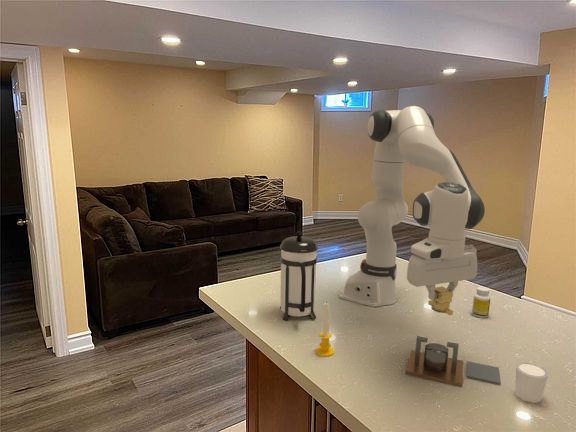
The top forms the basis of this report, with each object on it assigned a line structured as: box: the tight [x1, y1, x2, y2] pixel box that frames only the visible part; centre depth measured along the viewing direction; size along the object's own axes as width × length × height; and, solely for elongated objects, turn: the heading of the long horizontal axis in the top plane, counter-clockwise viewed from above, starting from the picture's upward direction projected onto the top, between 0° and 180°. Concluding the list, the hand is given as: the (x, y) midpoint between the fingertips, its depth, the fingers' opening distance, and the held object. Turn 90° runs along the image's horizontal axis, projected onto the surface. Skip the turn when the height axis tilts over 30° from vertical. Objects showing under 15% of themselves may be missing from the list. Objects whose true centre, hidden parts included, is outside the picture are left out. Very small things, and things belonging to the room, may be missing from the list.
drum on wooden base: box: [405, 335, 464, 388], centre depth 114 cm, size 14×12×8 cm
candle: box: [315, 301, 335, 358], centre depth 121 cm, size 5×5×16 cm
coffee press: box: [279, 230, 319, 322], centre depth 144 cm, size 17×16×30 cm
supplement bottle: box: [471, 286, 491, 319], centre depth 149 cm, size 5×5×10 cm
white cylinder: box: [515, 362, 549, 404], centre depth 103 cm, size 7×7×7 cm
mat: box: [466, 360, 501, 386], centre depth 113 cm, size 8×8×1 cm
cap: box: [427, 286, 454, 316], centre depth 111 cm, size 8×4×6 cm, turn 26°
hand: (440, 297), depth 111 cm, fingers closed on cap, 4 cm apart
